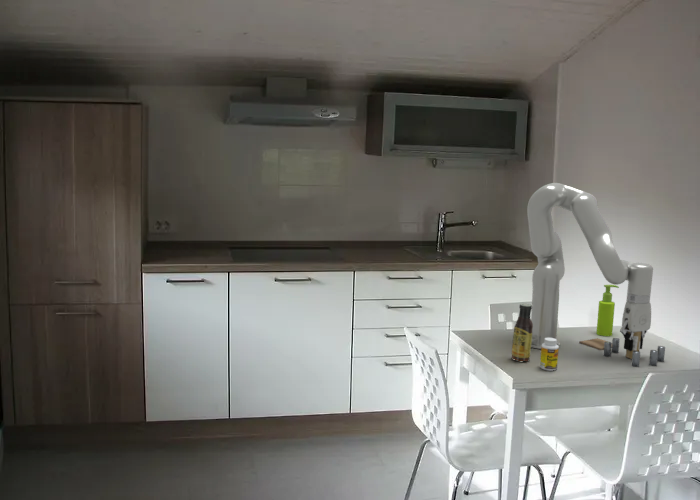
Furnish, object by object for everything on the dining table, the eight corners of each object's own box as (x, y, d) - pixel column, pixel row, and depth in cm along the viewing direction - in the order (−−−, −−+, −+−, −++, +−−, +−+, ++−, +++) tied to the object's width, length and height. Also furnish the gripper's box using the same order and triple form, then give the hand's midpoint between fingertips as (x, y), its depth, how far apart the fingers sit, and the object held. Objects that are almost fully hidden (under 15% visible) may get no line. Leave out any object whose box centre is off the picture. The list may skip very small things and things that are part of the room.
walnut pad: (600, 350, 256) (600, 348, 256) (579, 342, 265) (579, 341, 265) (619, 346, 261) (619, 345, 261) (597, 339, 269) (597, 338, 269)
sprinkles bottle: (641, 358, 247) (645, 321, 244) (633, 360, 244) (637, 323, 242) (630, 354, 250) (634, 318, 248) (622, 356, 248) (626, 319, 246)
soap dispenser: (616, 336, 274) (621, 286, 271) (599, 336, 274) (603, 286, 271) (611, 332, 280) (615, 283, 277) (594, 332, 280) (598, 283, 277)
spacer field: (640, 369, 236) (642, 354, 235) (597, 353, 251) (598, 340, 251) (670, 362, 243) (671, 348, 242) (626, 348, 259) (627, 335, 258)
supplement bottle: (544, 371, 231) (547, 341, 229) (536, 366, 236) (538, 337, 234) (560, 370, 232) (562, 341, 230) (551, 365, 237) (553, 336, 236)
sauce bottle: (507, 359, 243) (511, 303, 240) (519, 356, 247) (522, 301, 244) (522, 364, 238) (526, 307, 235) (534, 360, 242) (538, 304, 239)
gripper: (630, 303, 236) (625, 354, 239) (663, 298, 245) (657, 349, 248) (612, 298, 243) (607, 348, 246) (645, 294, 251) (639, 343, 254)
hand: (632, 348), depth 247 cm, fingers closed on sprinkles bottle, 4 cm apart
